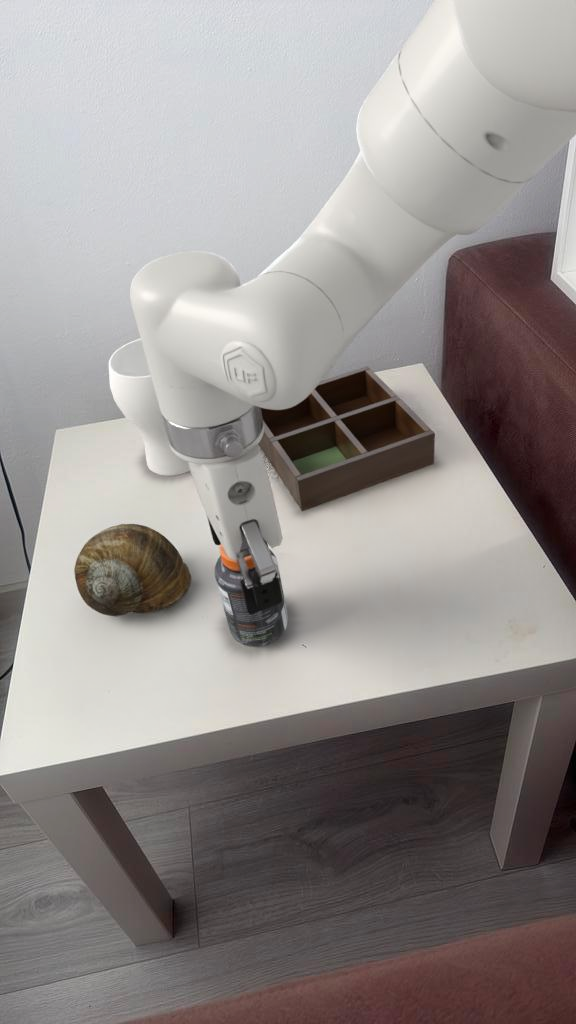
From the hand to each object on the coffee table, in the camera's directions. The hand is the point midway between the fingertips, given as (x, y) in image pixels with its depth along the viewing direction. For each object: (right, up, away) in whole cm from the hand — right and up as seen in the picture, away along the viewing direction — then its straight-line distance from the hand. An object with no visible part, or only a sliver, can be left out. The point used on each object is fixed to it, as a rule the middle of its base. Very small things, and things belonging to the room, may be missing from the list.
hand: (246, 571), depth 68 cm
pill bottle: (+1, -6, +5) cm, 8 cm away
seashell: (-12, -3, +10) cm, 16 cm away
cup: (-11, +12, +27) cm, 32 cm away
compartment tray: (+10, +14, +25) cm, 30 cm away
